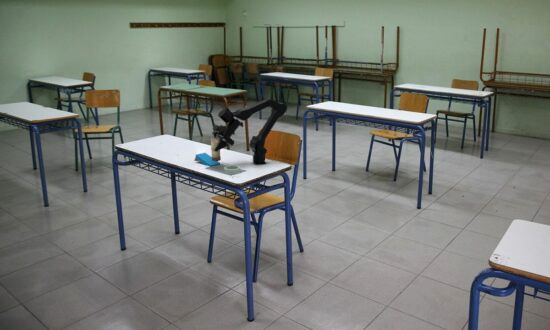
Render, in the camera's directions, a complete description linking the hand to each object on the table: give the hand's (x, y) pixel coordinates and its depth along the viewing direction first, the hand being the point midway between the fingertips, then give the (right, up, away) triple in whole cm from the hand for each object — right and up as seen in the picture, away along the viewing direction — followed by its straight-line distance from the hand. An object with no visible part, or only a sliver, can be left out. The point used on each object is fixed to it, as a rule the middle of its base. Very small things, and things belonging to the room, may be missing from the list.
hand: (213, 150), depth 261 cm
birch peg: (+1, -6, +2) cm, 6 cm away
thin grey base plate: (+7, -12, 0) cm, 14 cm away
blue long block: (-6, -9, +15) cm, 18 cm away
